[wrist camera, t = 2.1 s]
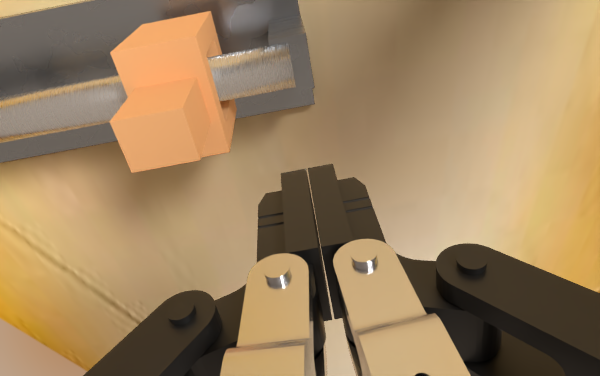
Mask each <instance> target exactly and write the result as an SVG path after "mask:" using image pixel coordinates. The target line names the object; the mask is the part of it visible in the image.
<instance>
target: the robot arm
mask: <svg viewBox="0 0 600 376" xmlns="http://www.w3.org/2000/svg"><path fill="white" fill-rule="evenodd" d="M308 172H309V178H310V184H311V190H312V196H313V202H314V208H315V214H316V219H315V214H314V209H313V204H312V198H311V193H310V188H309V183H308V177H307V172H306V169H302V170H297V171H291V172H286V173H281V184H282V191H277V192H271V193H266V194H265V196H264V197H263V199H262V200H261V202H260V203H259V205H258V240H257V263H256V264H255V265H254V266H253V267H252V269H251V270H250V272H249V274H248V277H247V284H246V285H244V286H243V287H242V288H240V289H239V290H237V291H235V292H233V293H231V294H229V295H227V296H224V297H222V298H220V299H217V300H215V301H214V300H213V298H212V297H211V296H210V295H209V294H208V293H206V292H203V291H198V290H192V291H185V292H182V293H179V294H176V295H174V296H172V297H171V298H169V299H167V300H166V301H165V302H164V303H162V304H161V305H160V306H159V307H158V308H157V309H156V310H155V311H153V312H152V313H151V314H150V315H149V316H148V317H147V318H146V319H145V320H144V321H143V322H141V323H140V324H139V325H138V326H137V327H136V328H135V329H134V330H133V331H132V332H130V333H129V334H128V335H127V336H126V337H125V338H124V339H123V340H122V341H121V342H120V343H118V344H117V345H116V346H115V347H114V348H113V349H112V350H111V351H110V352H109V353H108V354H106V355H105V356H104V357H103V358H102V359H101V360H100V361H99V362H98V363H97V364H96V365H94V366H93V367H92V368H91V369H90V370H89V371H88V372H87V373H86V374H85V375H84V376H327V358H326V347H325V339H326V334H325V327H324V321H328V320H332V316H331V310H330V304H329V298H328V292H327V285H326V279H325V273H324V267H323V261H322V255H323V260H324V265H325V270H326V276H327V281H328V286H329V291H330V297H331V302H332V307H333V312H334V318H335V319H339V318H343V323H344V328H345V333H346V338H347V344H348V349H349V352H350V356H351V359H352V363H353V366H354V370H355V373H356V376H600V293H597V292H595V291H592V290H590V289H588V288H585V287H583V286H580V285H578V284H576V283H573V282H571V281H568V280H566V279H563V278H561V277H559V276H556V275H554V274H551V273H549V272H547V271H544V270H542V269H539V268H537V267H534V266H532V265H530V264H527V263H525V262H522V261H520V260H518V259H515V258H513V257H510V256H508V255H506V254H503V253H501V252H498V251H496V250H493V249H491V248H489V247H486V246H482V245H478V244H458V245H454V246H451V247H449V248H447V249H445V250H444V251H442V252H441V253H440V254H439V256H438V258H437V260H436V261H422V260H413V259H408V258H405V257H402V256H400V255H398V254H396V253H395V251H394V250H393V249H392V248H391V247H390V246H389V245H388V244H387V243H386V241H385V239H384V236H383V233H382V231H381V228H380V225H379V222H378V220H377V217H376V214H375V212H374V209H373V207H372V203H371V201H370V199H369V195H368V192H367V190H366V187H365V185H364V184H362V183H361V182H360V181H358V180H357V179H356V178H354V177H353V178H348V179H342V180H337V178H336V174H335V170H334V167H333V164H329V165H323V166H318V167H313V168H308ZM316 220H317V225H316ZM317 226H318V231H317ZM318 232H319V237H318ZM319 238H320V243H319ZM320 244H321V249H322V255H321V249H320Z"/></svg>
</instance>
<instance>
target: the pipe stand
mask: <svg viewBox="0 0 600 376" xmlns="http://www.w3.org/2000/svg"><path fill="white" fill-rule="evenodd" d="M207 11H211V14H212V18H213V22H214V25H215V29H216V33H217V37H218V40H219V44H220V48H221V52H222V55H217V56H212V57H207V59H208V62H209V66H210V69H211V73H212V76H213V80H214V83H215V87H216V90H217V94H218V97H219V101H220V102H221V101H226V100H231V99H234V100H235V104H236V108H237V111H236V117H235V119H236V118H242V117H247V116H253V115H258V114H263V113H269V112H274V111H279V110H285V109H290V108H295V107H301V106H306V105H311V104H315V103H314V97H313V91H312V88H314V82H313V76H312V69H311V63H310V57H309V51H308V45H307V38H306V33H305V29H304V26H303V23H302V19H301V16H300V12H299V6H298V0H86V1H81V2H76V3H71V4H66V5H61V6H56V7H51V8H46V9H41V10H36V11H31V12H26V13H21V14H16V15H11V16H6V17H1V18H0V163H1V162H6V161H12V160H17V159H22V158H28V157H33V156H39V155H44V154H49V153H55V152H60V151H65V150H71V149H76V148H81V147H87V146H92V145H97V144H103V143H108V142H113V141H118V140H117V138H116V136H115V133H114V131H113V129H112V126H111V124H110V120H111V119H112V118H113V117H114V115H115V114H116V113H117V111H118V110H119V109H120V107H121V106H122V105H123V103H124V102H125V101H126V100H127V98H128V96H127V94H126V91H125V89H124V86H123V84H122V81H121V79H120V76H119V74H118V71H117V69H116V66H115V64H114V61H113V59H112V56H111V54H110V52H111V51H112V50H113V49H115V48H116V47H117V46H118V45H119V44H120V43H121V42H123V41H124V40H125V39H126V38H127V37H128V36H129V35H131V34H132V33H133V32H134V31H135V30H136V29H137V28H139V27H140V26H141V25H142V24H147V23H152V22H157V21H162V20H167V19H172V18H177V17H182V16H187V15H192V14H197V13H202V12H207Z"/></svg>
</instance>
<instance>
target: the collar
mask: <svg viewBox="0 0 600 376" xmlns="http://www.w3.org/2000/svg"><path fill="white" fill-rule="evenodd" d="M110 54H111V56H112V59H113V61H114V64H115V66H116V69H117V71H118V74H119V76H120V79H121V81H122V84H123V86H124V89H125V91H126V94H127V96H128V98H127V100H126V101H125V102H124V103H123V105H122V106H121V107H120V109H119V110H118V111H117V113H116V114H115V115H114V117H113V118H112V119H111V120H110V124H111V126H112V129H113V131H114V133H115V136H116V138H117V140H118V142H119V145H120V147H121V149H122V152H123V154H124V156H125V158H126V161H127V163H128V165H129V168H130V170H131V172H132V173H134V172H139V171H145V170H150V169H156V168H161V167H167V166H172V165H177V164H183V163H188V162H194V161H199V160H200V159H201V157H206V156H211V155H217V154H222V153H228V152H230V147H231V141H232V135H233V129H234V123H235V117H236V111H237V108H236V104H235V100H234V99H231V100H226V101H221V102H220V101H219V97H218V94H217V90H216V87H215V83H214V80H213V76H212V73H211V69H210V66H209V62H208V59H207V57H212V56H217V55H222V52H221V48H220V44H219V40H218V37H217V33H216V29H215V25H214V22H213V18H212V14H211V11H207V12H202V13H197V14H192V15H187V16H182V17H177V18H172V19H167V20H162V21H157V22H152V23H147V24H142V25H141V26H140V27H139V28H137V29H136V30H135V31H134V32H133V33H132V34H131V35H129V36H128V37H127V38H126V39H125V40H124V41H123V42H121V43H120V44H119V45H118V46H117V47H116V48H115V49H113V50H112V51H111V52H110Z"/></svg>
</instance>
